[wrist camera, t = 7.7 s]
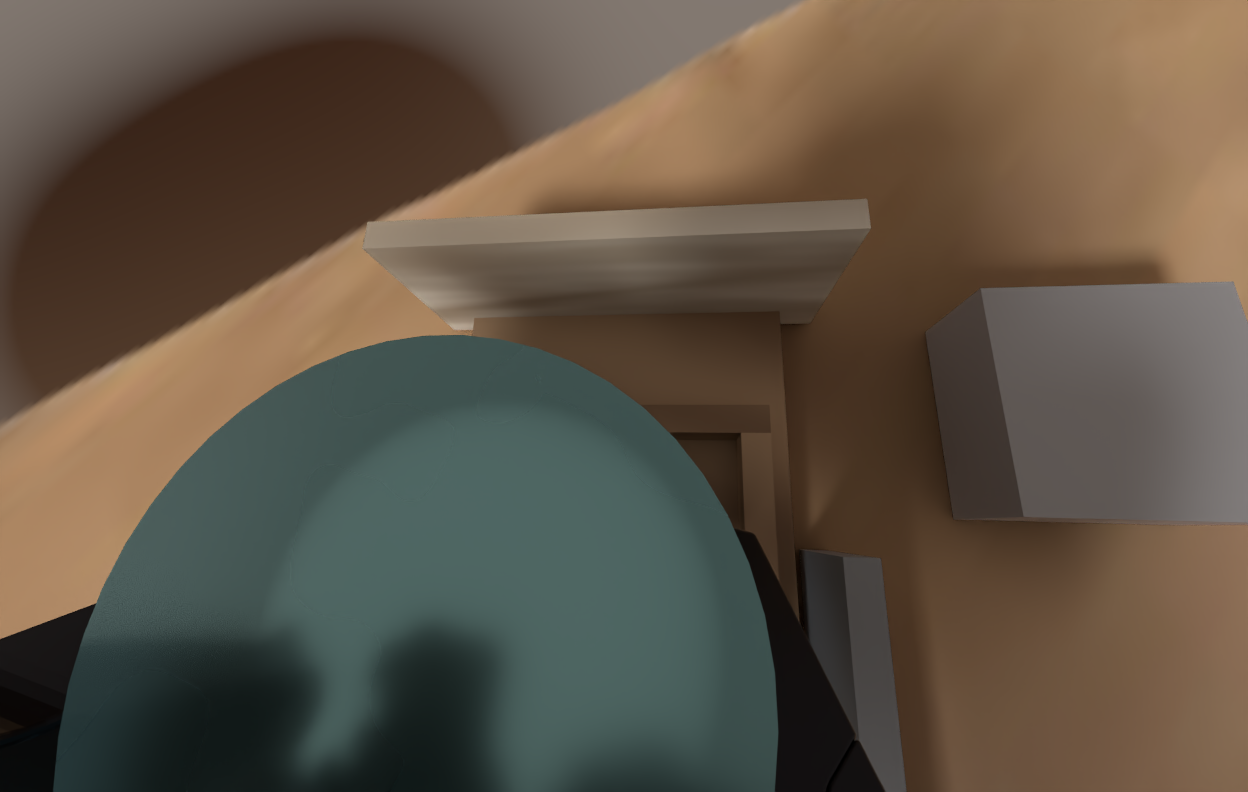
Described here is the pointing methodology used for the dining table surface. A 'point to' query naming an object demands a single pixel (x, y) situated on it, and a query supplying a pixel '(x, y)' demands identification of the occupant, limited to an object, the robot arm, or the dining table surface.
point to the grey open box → (856, 650)
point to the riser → (1095, 404)
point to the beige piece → (654, 318)
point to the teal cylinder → (429, 597)
